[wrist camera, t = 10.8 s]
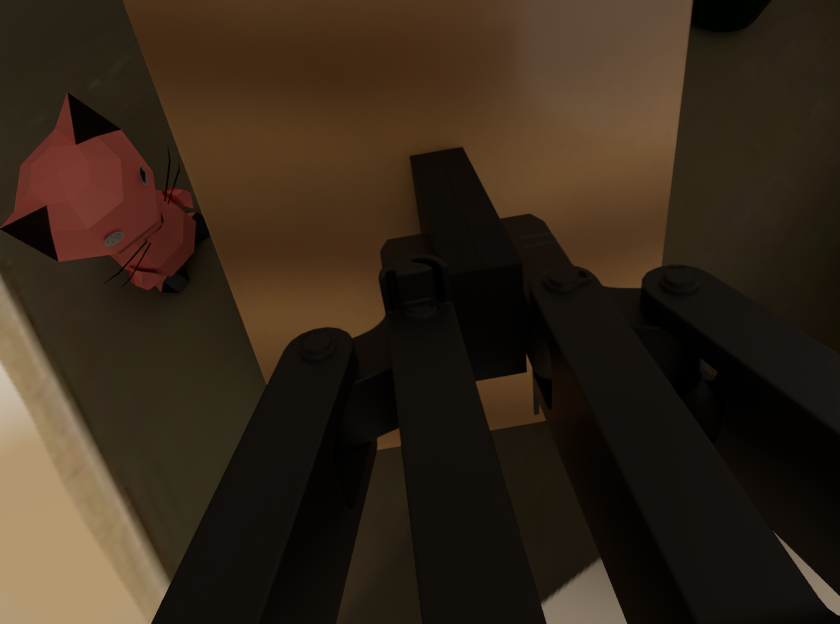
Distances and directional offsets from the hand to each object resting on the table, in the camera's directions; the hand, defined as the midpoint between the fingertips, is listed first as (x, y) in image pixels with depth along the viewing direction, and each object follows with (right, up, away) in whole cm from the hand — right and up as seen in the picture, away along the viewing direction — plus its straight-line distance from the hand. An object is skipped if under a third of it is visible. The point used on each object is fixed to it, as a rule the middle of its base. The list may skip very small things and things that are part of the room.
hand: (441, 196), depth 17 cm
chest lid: (0, -1, +2) cm, 2 cm away
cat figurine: (-15, 0, +18) cm, 24 cm away
